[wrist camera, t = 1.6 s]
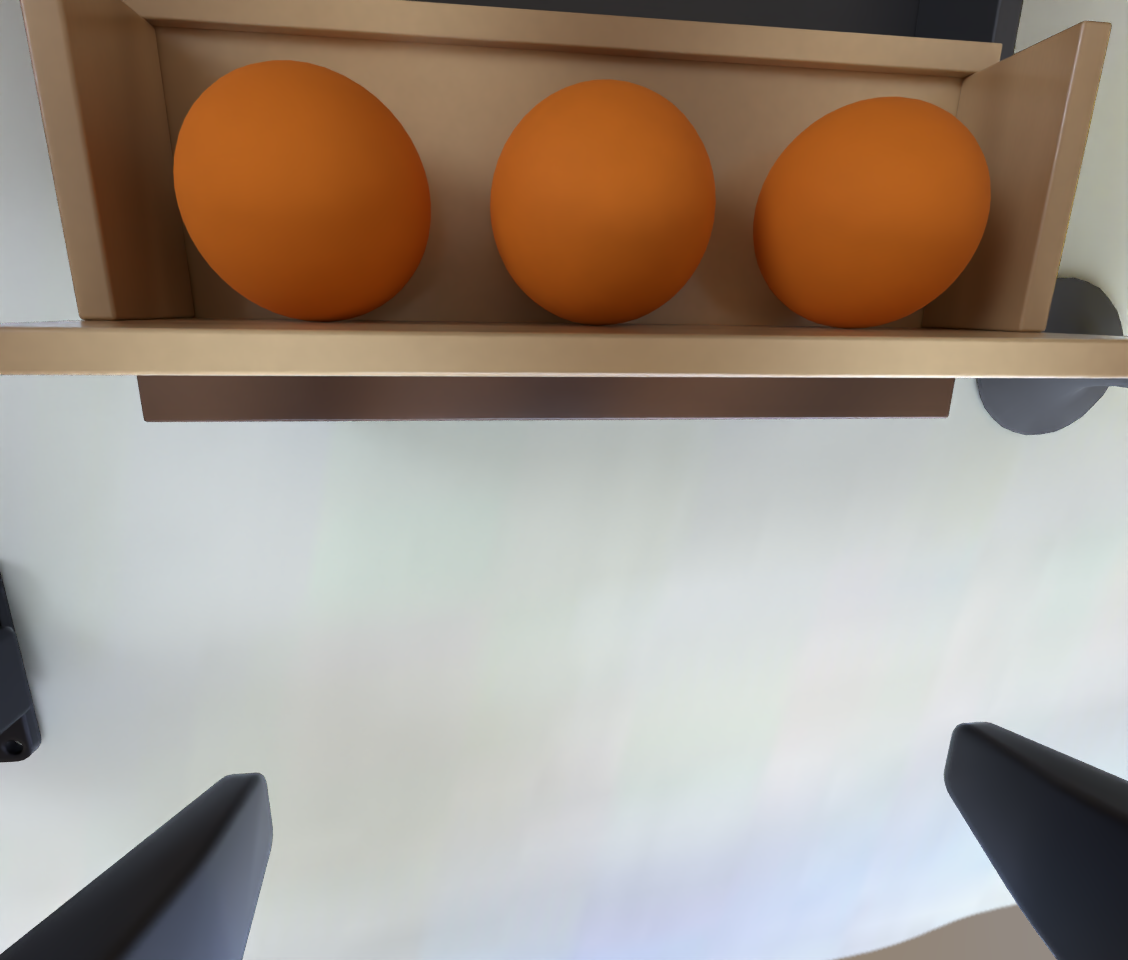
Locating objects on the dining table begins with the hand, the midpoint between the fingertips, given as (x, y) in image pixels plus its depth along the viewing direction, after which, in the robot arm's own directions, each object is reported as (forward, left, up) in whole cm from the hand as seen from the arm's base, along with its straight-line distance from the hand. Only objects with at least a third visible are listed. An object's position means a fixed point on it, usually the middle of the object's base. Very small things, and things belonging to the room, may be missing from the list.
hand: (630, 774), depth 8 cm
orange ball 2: (0, +7, -4) cm, 8 cm away
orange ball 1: (-4, +7, -4) cm, 9 cm away
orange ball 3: (+5, +7, -4) cm, 9 cm away
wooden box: (0, +8, -6) cm, 10 cm away
